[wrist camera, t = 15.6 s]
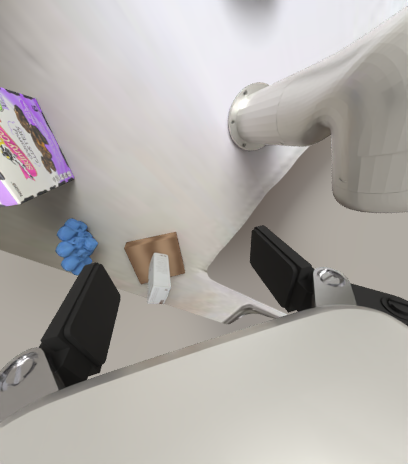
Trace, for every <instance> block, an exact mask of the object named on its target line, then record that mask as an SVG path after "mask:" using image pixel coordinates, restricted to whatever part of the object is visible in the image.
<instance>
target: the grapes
mask: <svg viewBox="0 0 408 464" xmlns="http://www.w3.org/2000/svg"><path fill="white" fill-rule="evenodd" d="M86 229H87V225H86V224H85V223H83V222H81V221H77V220H75V219H73V218H72V219H68V220H67V221H66V222H65V224H64V226H63V227H61V228H60V229H59V231H58V233H57V236H58V238H59V239H60V240H62V242H61V243H59V244H58V246H57V248H56V250H55V251H56V253H57V254H58V255H59V256H60V257H64V259H63V261H62V263H61V266H62V267H63V269H65V270H66V271H69V272H70V271H71V272H72V273H73V274H74V275H79V274H80V272H81V270H82V269H83V267H84V266H85V265H88V264H91V263H92V259H91V258H90V257H89V256H90V255H91V254H92V253H93V251H94V249H95V248H96V246H97V244H98V242H97V241H96V240H95V239H94V238H92V237H93V236H92V235H91V234H90V233H89V232H87V231H86Z"/></svg>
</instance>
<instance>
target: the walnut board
mask: <svg viewBox="0 0 408 464" xmlns="http://www.w3.org/2000/svg"><path fill="white" fill-rule="evenodd" d="M124 249H125V251H126V253H127V255H128V258H129V260H130V262H131V264H132V266H133V268H134V271H135V273H136V275H137V277H138V279H139V281H140V283H141V284H144V283H148V275H149V265H150V262H151V259H152V256H153V254H154V253H160V254H166V255H168V260H169V271H170V277H172V276H176V275H180V274H184V273H185V269H184V264H183V260H182V256H181V252H180V247H179V243H178V239H177V234H176V232H173V233H169V234H164V235H159V236H154V237H150V238H145V239H140V240H135V241H131V242H126V245H125V248H124Z"/></svg>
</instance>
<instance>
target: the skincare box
mask: <svg viewBox="0 0 408 464" xmlns="http://www.w3.org/2000/svg"><path fill="white" fill-rule="evenodd" d="M170 289H171V281H170V271H169V260H168V255H166V254H160V253H154V254H153V256H152V259H151V262H150V265H149V275H148V301H147V303H152V304H164V303H165V301H166V298H167V297H168V294H169V291H170Z"/></svg>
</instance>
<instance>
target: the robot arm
mask: <svg viewBox="0 0 408 464" xmlns="http://www.w3.org/2000/svg"><path fill="white" fill-rule="evenodd" d="M243 93H244V94H243ZM231 121H232V122H233V123H232V124H231ZM228 126H229V132H230V135H231V138H232V139H233V141H234V142H235V144H236V145H237V146H238V147H240V148H242V149H244V150H248V151H254V150H258V149H261V148H262V147H264V146H265V145H282V146H299V147H303V146H310V145H313V144H316V143H318V142H320V141H322V140H323V139H325V138H327V137H328V136H330V135H331V139H332V140H331V142H332V144H331V148H332V191H333V195H334V197H335V199H336V201H337V202H338V203H339V204H341V205H342V206H344V207H346V208H349V209H352V210H356V211H360V212H369V213H399V212H408V6H407V7H405V8H404V9H402V10H401V11H399V12H398V13H396V14H395V15H393V16H392V17H390V18H389V19H387V20H386V21H384V22H383V23H381V24H380V25H379V26H377V27H376V28H374V29H373V30H371V31H370V32H368V33H367V34H365V35H364V36H362V37H361V38H359V39H358V40H356V41H355V42H353V43H351V44H350V45H348V46H347V47H345V48H343V49H342V50H340V51H338V52H337V53H335V54H333V55H331V56H329V57H327V58H325V59H323V60H322V61H320V62H318V63H316V64H314V65H311V66H309V67H307V68H305V69H303V70H301V71H299V72H297V73H295V74H293V75H290V76H288V77H286V78H284V79H282V80H280V81H278V82H276V83H274V84H271V85H268V84H266V83H261V82H257V83H252V84H250V85H248V86H247V87H245V88H244V89H242V90H241V91H240V92H239V93H238V95H237V96H236V97H235V99H234V101H233V103H232V105H231V108H230V111H229V117H228ZM242 145H243V146H242ZM250 263H251V265H252V267H253V268H254V269H255V271H256V272H257V274H258V275H259V277H260V278H261V279H262V281H263V282H264V283H265V285H266V286H267V288H268V289H269V290H270V292H271V293H272V294H273V296H274V297H275V299H276V300H277V301H278V303H279V304H280V306H281V307H283V308H285V309H286V310H287V312H291V311H295V310H297V311H298V312H296V313H293V314H290V315H286V316H283V317H279V318H276V319H273V320H270V321H267V322H264V323H261V324H257V325H254V326H251V327H248V328H245V329H241V330H238V331H235V332H232V333H229V334H226V335H222V336H219V337H216V338H213V339H210V340H207V341H204V342H200V343H197V344H194V345H191V346H188V347H185V348H182V349H179V350H176V351H173V352H170V353H166V354H163V355H160V356H157V357H154V358H151V359H148V360H145V361H142V362H139V363H136V364H133V365H130V366H127V367H124V368H121V369H117V370H114V371H111V372H109V373H106V374H103V375H100V376H97V377H94V378H91V379H88V380H87V378H88V376H91V375H94V374H97V373H100V370H101V366H102V364H104V363H105V361H106V357H107V353H108V349H109V345H110V340H111V337H112V332H113V328H114V324H115V320H116V316H117V312H118V307H119V303H120V294H119V292H118V290H117V289H116V287H115V285H114V284H113V282H112V280H111V278H110V277H109V275H108V273H107V272H106V270H105V268H104V267H103V265H102V264H98V263H92V264H88V265H85V266H84V267H83V269H82V270H81V272H80V274H79V276H78V277H77V279H76V281H75V282H74V284H73V286H72V288H71V289H70V291H69V293H68V294H67V296H66V298H65V300H64V301H63V303H62V305H61V307H60V308H59V310H58V312H57V313H56V315H55V317H54V318H53V320H52V322H51V324H50V325H49V327H48V329H47V330H46V332H45V334H44V336H43V337H42V339H41V342H42V343H41V345H40V346H39V348H37V347H36V348H31V349H28V350H26V351H24V352H22V353H21V354H19V355H17V356H16V357H15V358H13V359H12V360H11V361H10V362H9V363H7V364H6V365H5V367H3V369H2V370H1V371H0V464H408V301H406V300H404V299H402V298H400V297H397V296H394V295H390V294H387V293H383V292H380V291H376V290H373V289H369V288H365V287H362V286H358V285H354V284H351V283H350V281H349V280H348V278H347V277H346V276H345V275H344V274H342V273H341V272H339V271H337V270H335V269H332V268H328V267H319V268H316V269H314V268H312V265H311V264H310V263H308V262H307V261H306V260H304V259H303V258H302V257H301V256H300V255H299V254H298V253H296V252H295V251H294V250H293V249H292V248H290V247H289V246H288V245H287V244H286V243H284V242H283V241H282V240H281V239H280V238H278V237H277V236H276V235H275V234H274V233H272V232H271V231H270V230H269V229H268V228H267V227H265V226H263V225H262V226H258V227H255V228H254V230H252V237H251V252H250Z"/></svg>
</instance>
